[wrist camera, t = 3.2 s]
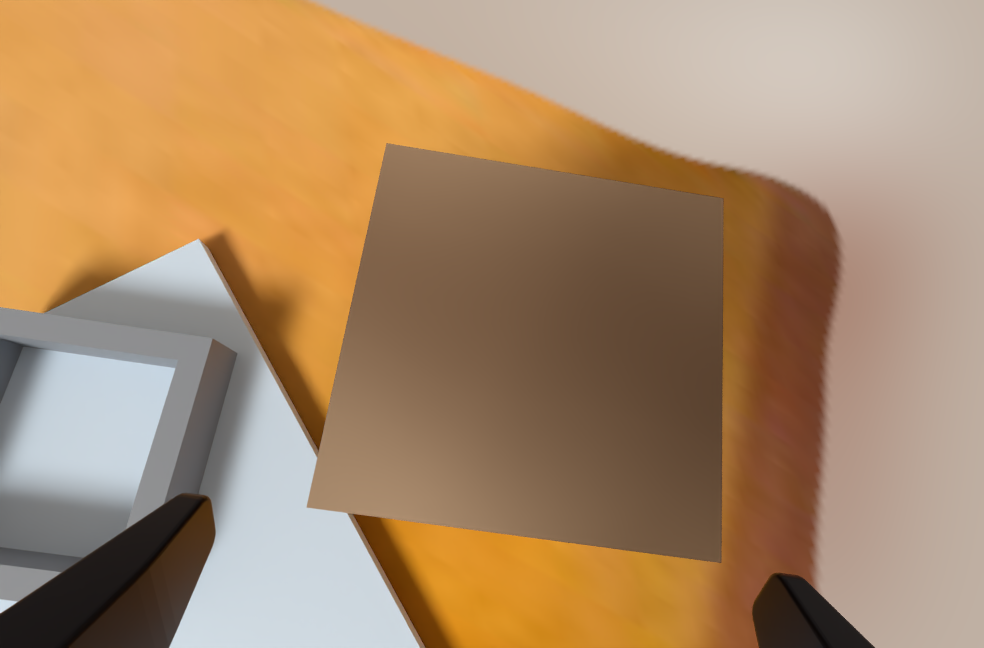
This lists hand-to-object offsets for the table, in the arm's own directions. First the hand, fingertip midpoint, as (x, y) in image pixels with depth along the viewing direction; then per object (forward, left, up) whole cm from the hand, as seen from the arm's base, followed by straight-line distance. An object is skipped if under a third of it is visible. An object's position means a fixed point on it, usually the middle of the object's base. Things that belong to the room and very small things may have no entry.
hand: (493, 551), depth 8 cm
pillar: (+2, -2, -10) cm, 10 cm away
